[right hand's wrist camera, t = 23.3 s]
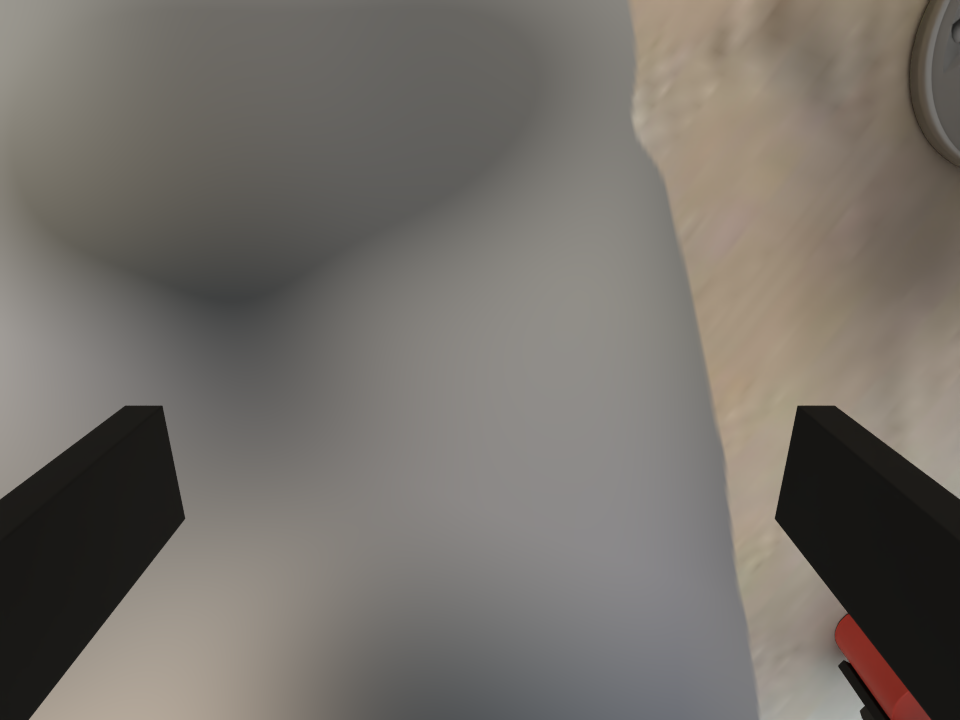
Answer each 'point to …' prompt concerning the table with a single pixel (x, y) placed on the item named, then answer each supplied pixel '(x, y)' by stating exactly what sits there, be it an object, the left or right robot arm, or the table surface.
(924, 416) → the table surface
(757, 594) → the table surface
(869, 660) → the canister
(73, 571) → the right robot arm
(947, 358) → the table surface
